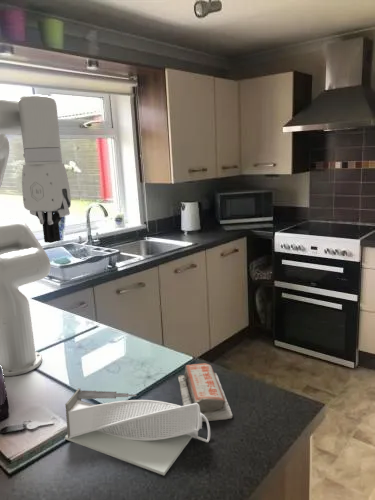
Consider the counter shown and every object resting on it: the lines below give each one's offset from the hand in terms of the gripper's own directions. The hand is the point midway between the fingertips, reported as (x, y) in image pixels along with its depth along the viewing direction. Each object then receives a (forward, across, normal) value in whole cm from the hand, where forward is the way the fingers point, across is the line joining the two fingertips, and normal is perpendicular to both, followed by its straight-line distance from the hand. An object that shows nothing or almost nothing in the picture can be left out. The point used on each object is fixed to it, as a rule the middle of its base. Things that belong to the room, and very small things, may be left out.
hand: (52, 241), depth 92 cm
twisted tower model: (+34, +12, -12) cm, 37 cm away
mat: (+37, +24, -8) cm, 45 cm away
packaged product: (+38, +31, +11) cm, 50 cm away
